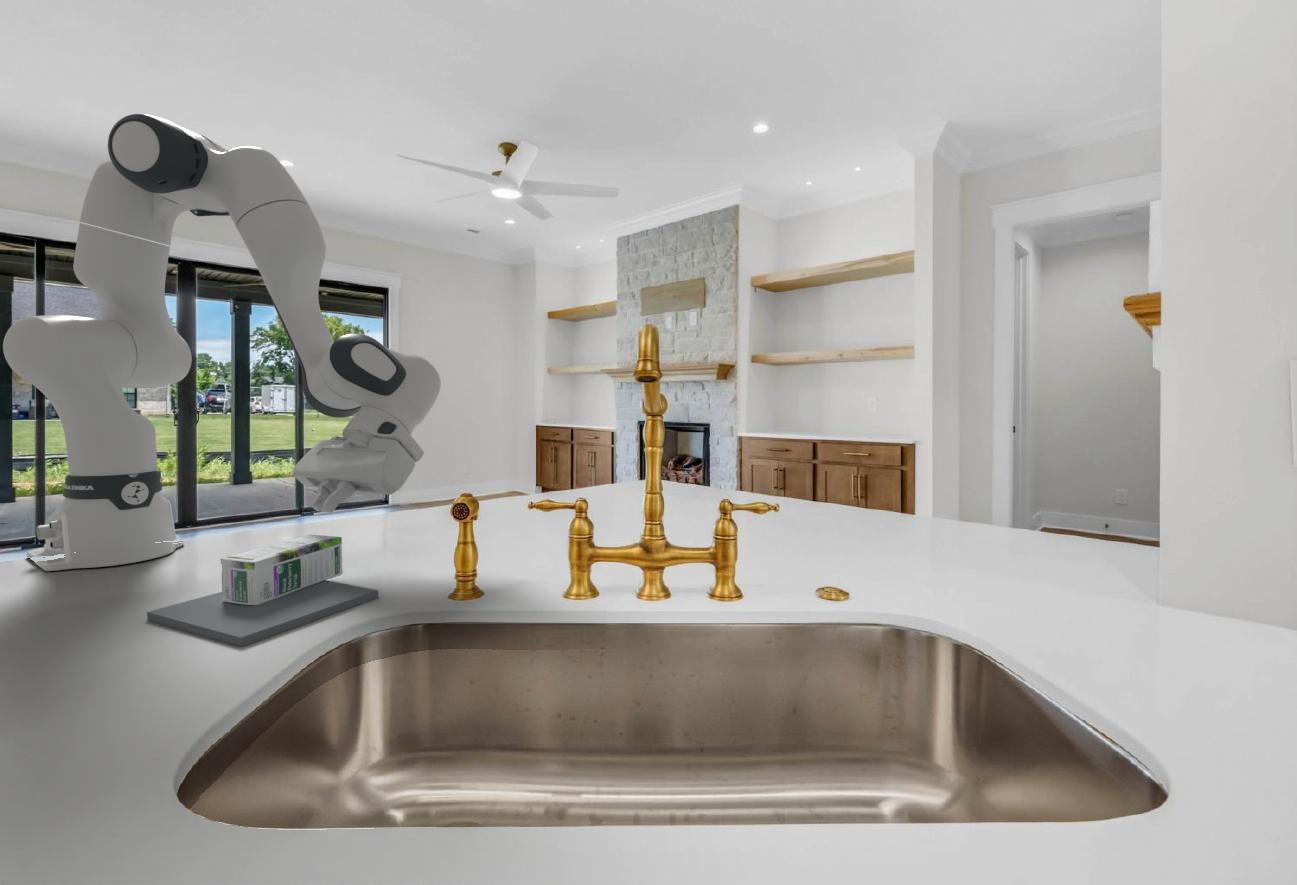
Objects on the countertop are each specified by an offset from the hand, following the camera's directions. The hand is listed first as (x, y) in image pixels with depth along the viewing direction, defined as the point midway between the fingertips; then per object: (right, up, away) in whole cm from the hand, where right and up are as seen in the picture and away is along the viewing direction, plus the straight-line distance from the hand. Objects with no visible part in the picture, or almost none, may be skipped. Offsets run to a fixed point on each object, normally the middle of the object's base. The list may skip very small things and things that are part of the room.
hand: (320, 509), depth 90 cm
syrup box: (+1, -7, 0) cm, 7 cm away
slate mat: (0, -11, -12) cm, 16 cm away
